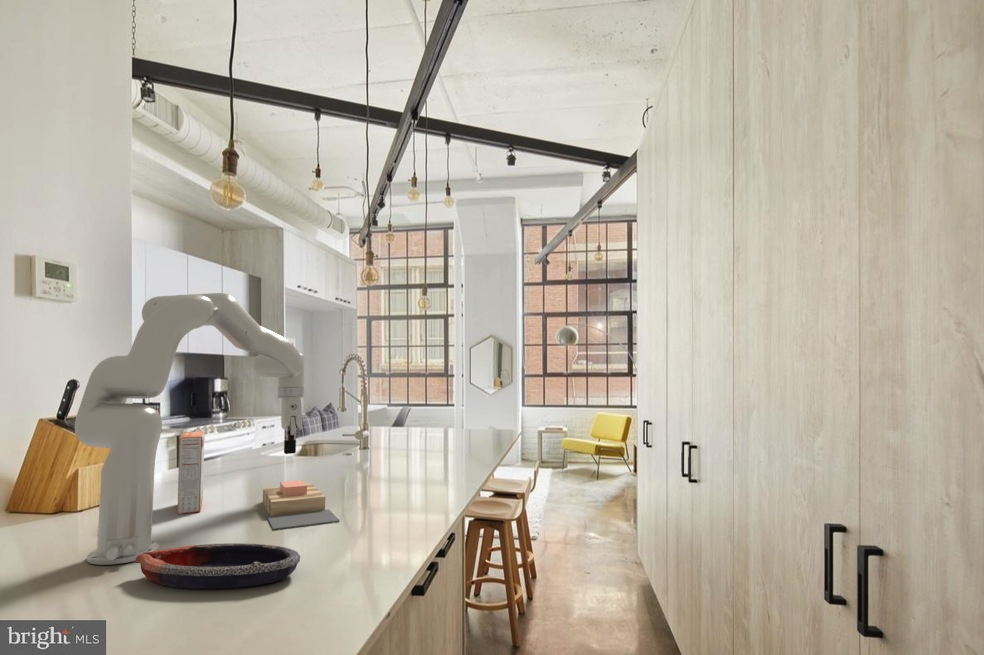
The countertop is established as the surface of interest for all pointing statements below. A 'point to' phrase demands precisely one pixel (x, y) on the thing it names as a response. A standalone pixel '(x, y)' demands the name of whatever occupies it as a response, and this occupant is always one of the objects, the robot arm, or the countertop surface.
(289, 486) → the pink rectangular block
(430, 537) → the countertop surface
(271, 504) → the wooden block
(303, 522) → the mat
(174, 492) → the countertop surface
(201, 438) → the cracker box
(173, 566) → the dish
